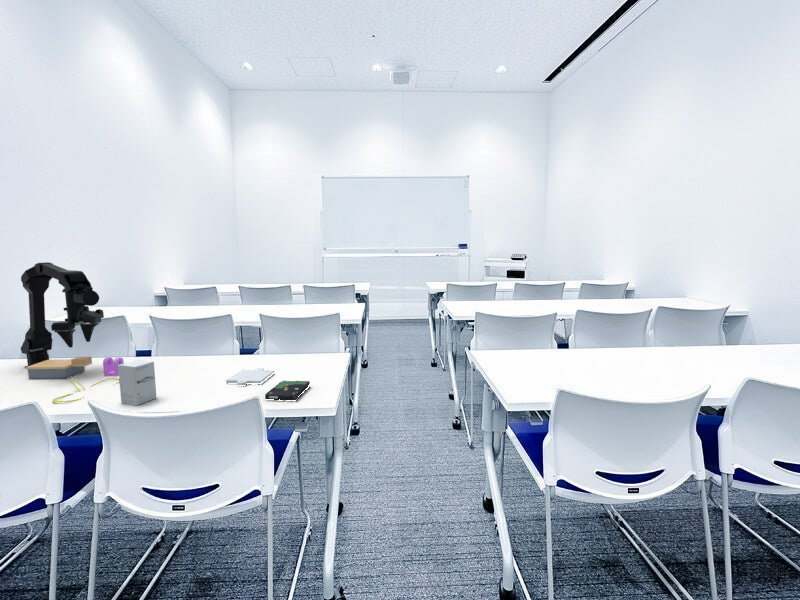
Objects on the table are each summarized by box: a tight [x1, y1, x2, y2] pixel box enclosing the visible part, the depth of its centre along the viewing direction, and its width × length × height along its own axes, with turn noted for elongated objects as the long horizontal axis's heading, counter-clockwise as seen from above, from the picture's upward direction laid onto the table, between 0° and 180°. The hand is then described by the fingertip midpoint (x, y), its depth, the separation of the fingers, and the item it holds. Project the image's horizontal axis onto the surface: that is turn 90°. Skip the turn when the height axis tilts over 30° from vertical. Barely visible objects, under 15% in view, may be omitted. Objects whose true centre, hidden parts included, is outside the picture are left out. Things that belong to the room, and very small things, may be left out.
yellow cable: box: [52, 377, 120, 403], centre depth 151 cm, size 25×10×5 cm, turn 173°
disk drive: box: [264, 380, 310, 400], centre depth 147 cm, size 10×3×15 cm
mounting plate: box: [225, 367, 275, 386], centre depth 163 cm, size 18×13×2 cm
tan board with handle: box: [25, 356, 93, 370], centre depth 168 cm, size 20×11×3 cm, turn 90°
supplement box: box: [118, 359, 157, 407], centre depth 140 cm, size 7×7×13 cm
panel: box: [27, 366, 86, 380], centre depth 168 cm, size 14×10×4 cm
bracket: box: [102, 357, 125, 377], centre depth 173 cm, size 13×6×7 cm, turn 176°
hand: (79, 344), depth 167 cm, fingers open, 9 cm apart
